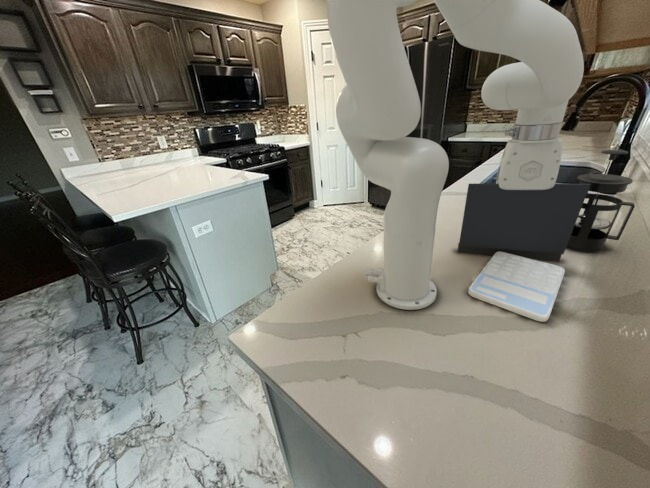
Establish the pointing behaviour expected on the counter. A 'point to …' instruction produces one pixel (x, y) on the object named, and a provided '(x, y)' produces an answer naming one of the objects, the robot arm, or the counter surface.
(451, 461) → the counter surface
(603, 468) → the counter surface
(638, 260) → the counter surface
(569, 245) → the french press
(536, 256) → the hinge strip
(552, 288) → the calculator
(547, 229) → the cover
